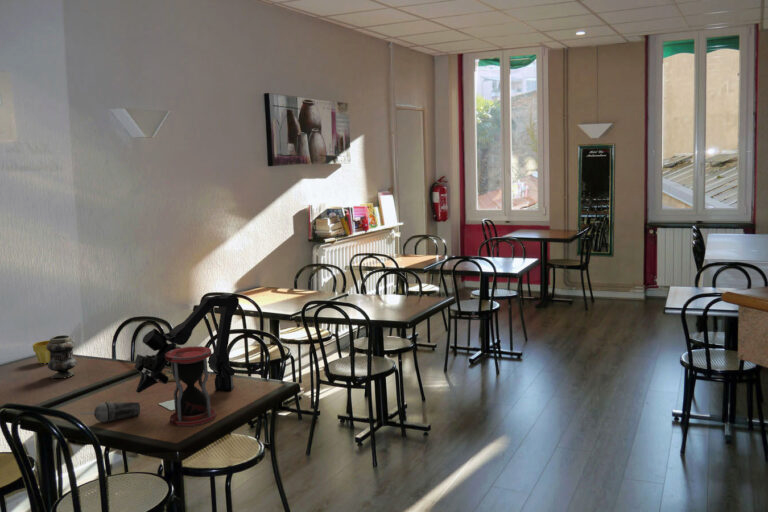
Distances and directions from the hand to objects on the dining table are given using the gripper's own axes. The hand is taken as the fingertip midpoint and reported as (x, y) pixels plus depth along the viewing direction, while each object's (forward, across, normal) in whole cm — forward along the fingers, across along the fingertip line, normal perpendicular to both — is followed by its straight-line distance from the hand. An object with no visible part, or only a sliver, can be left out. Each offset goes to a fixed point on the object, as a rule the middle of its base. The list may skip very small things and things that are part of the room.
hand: (137, 392), depth 268 cm
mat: (-5, +3, +16) cm, 17 cm away
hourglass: (-2, +22, +13) cm, 26 cm away
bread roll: (-15, -32, +26) cm, 44 cm away
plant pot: (+6, -105, +5) cm, 106 cm away
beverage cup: (+4, +3, +3) cm, 6 cm away
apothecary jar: (+8, -74, +4) cm, 75 cm away
